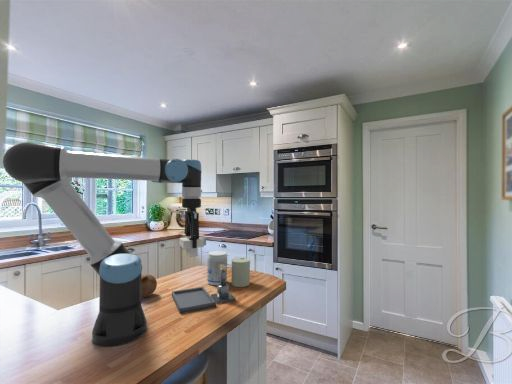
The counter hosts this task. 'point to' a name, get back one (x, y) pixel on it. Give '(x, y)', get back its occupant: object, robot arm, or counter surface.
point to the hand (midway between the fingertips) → (191, 253)
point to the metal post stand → (223, 288)
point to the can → (240, 272)
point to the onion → (148, 285)
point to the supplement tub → (215, 266)
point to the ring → (186, 242)
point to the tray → (192, 299)
